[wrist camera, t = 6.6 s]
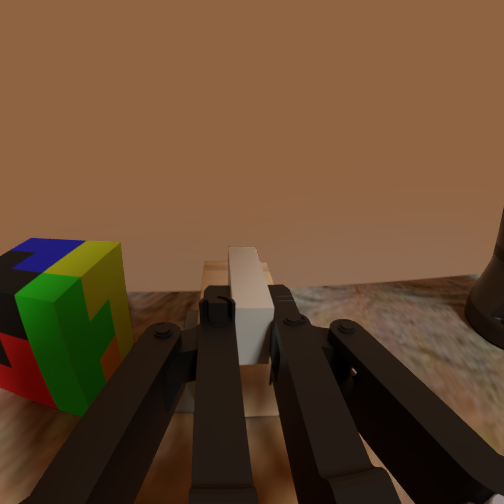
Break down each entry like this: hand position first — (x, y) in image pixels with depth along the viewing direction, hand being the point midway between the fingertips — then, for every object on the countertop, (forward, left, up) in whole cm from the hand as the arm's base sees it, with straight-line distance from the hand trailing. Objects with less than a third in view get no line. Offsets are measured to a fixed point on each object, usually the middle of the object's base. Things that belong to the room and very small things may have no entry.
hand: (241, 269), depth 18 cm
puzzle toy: (+15, +2, -11) cm, 19 cm away
